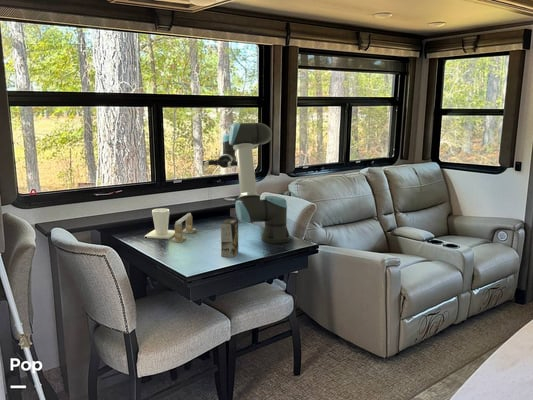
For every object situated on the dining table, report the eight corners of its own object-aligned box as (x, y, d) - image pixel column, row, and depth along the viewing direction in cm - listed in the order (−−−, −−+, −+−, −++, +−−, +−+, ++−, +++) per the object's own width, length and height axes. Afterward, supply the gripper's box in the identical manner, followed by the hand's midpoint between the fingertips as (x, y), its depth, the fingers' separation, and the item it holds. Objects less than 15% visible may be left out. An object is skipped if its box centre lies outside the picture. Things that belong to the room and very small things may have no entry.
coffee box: (234, 257, 215) (233, 224, 212) (220, 256, 216) (220, 223, 213) (239, 251, 224) (238, 219, 220) (226, 250, 225) (225, 219, 222)
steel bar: (188, 215, 260) (188, 212, 260) (191, 215, 260) (191, 213, 260) (175, 224, 239) (175, 222, 239) (178, 224, 239) (178, 222, 238)
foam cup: (152, 231, 256) (151, 208, 254) (169, 230, 259) (168, 207, 256) (153, 235, 247) (152, 212, 245) (170, 234, 250) (170, 211, 247)
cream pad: (178, 232, 259) (177, 230, 259) (169, 238, 245) (169, 237, 245) (154, 231, 261) (154, 229, 261) (144, 237, 247) (144, 236, 247)
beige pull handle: (185, 230, 263) (185, 215, 261) (195, 230, 262) (195, 215, 260) (171, 241, 240) (171, 224, 239) (182, 242, 240) (182, 225, 238)
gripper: (245, 167, 275) (238, 172, 254) (205, 166, 278) (195, 171, 258) (245, 155, 273) (238, 158, 253) (205, 154, 277) (194, 157, 256)
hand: (216, 164), depth 255 cm, fingers open, 13 cm apart
